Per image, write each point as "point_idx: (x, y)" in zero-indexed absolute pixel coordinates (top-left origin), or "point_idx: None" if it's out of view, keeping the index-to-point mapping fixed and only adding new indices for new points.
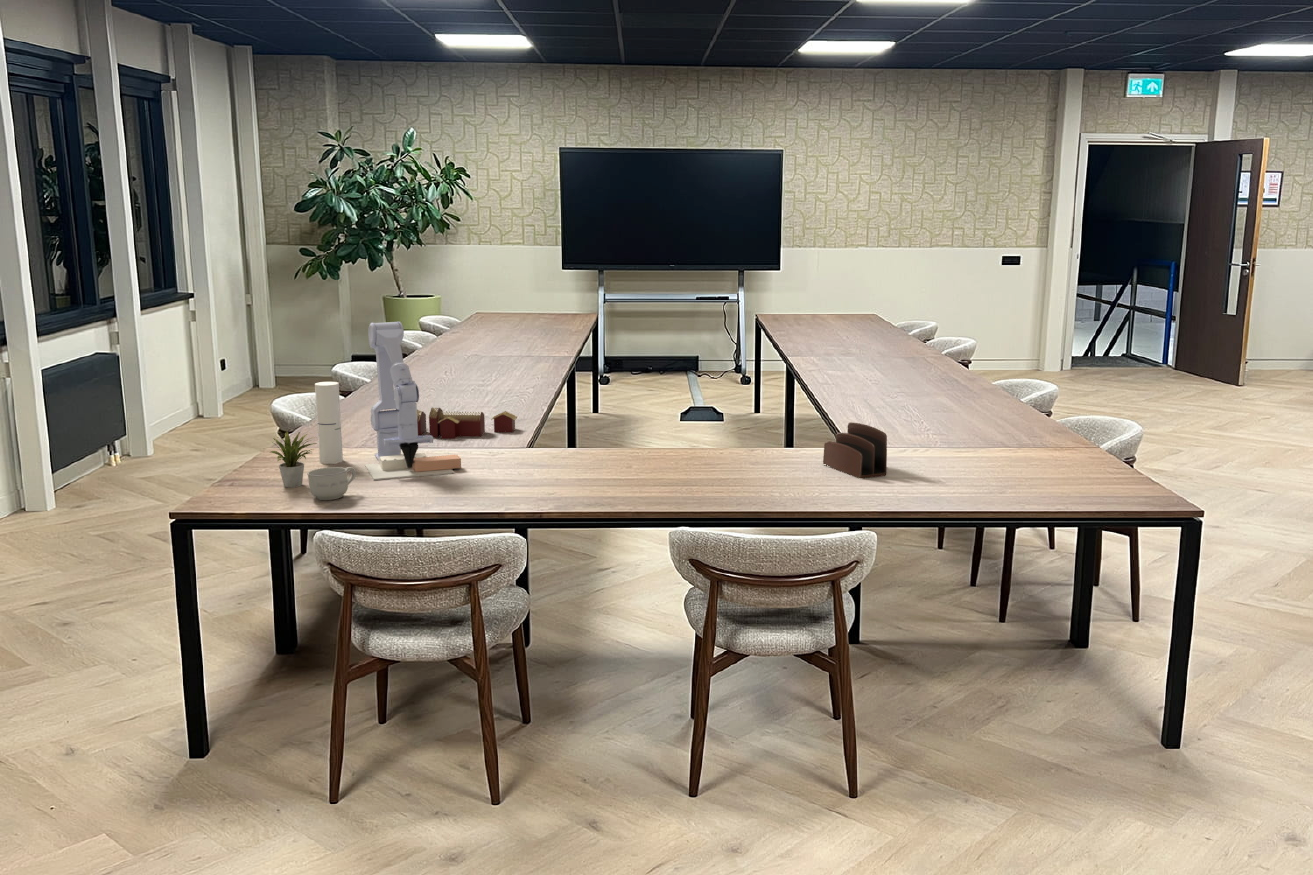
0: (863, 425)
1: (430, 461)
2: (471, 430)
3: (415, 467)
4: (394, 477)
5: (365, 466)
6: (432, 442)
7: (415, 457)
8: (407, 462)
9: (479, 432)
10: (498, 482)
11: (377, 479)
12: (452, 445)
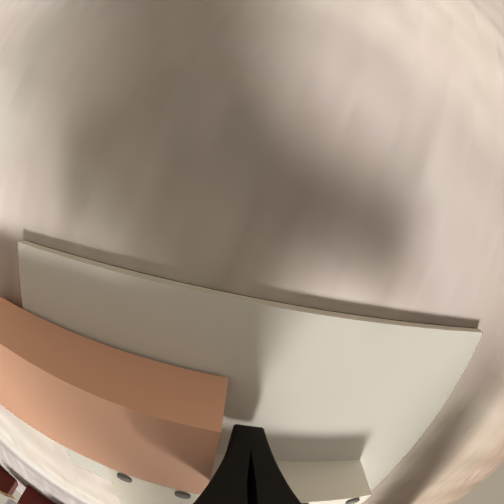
0: None
1: (90, 390)
2: (38, 502)
3: (224, 399)
4: (405, 324)
5: None
6: (11, 501)
7: (178, 494)
8: (272, 455)
9: (27, 491)
10: (8, 15)
11: (470, 328)
12: (65, 497)
